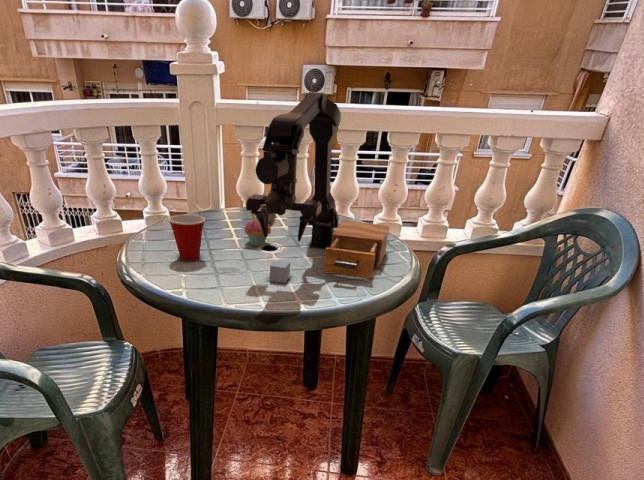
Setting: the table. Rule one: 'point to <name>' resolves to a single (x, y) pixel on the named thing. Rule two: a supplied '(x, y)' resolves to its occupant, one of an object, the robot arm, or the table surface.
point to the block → (279, 271)
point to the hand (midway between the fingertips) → (282, 239)
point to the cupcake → (256, 232)
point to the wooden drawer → (351, 257)
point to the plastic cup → (187, 235)
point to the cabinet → (364, 235)
